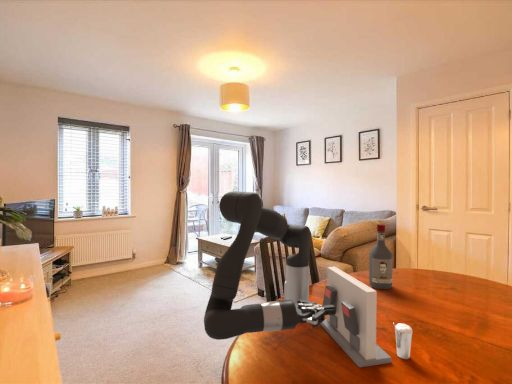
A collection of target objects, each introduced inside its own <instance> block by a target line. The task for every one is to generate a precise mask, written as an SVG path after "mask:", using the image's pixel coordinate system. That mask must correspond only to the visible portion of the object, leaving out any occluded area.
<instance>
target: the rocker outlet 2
mask: <svg viewBox="0 0 512 384" xmlns="http://www.w3.org/2000/svg"><path fill="white" fill-rule="evenodd" d="M341 305H342V312H343V318H344V324H345V328H346V329H347V330H348V331H349V332H350V333H352V334H353V335H354V336H355V335H358V334H359V331H358V324H357V318H356V312H355V307H353V306H352V305H351V304H349V303H348V302H347V301H343V302H341Z"/></svg>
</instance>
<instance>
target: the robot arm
mask: <svg viewBox="0 0 512 384" xmlns="http://www.w3.org/2000/svg"><path fill="white" fill-rule="evenodd" d="M219 211H220V214H221V216H222V217H223V218H224V220H226V221H227V222H230V223H235V224H240V225H239V230H238V232H237V234H236V237H235V238H234V240H233V242H232V243H231V244H230V246H229V247H228V248H227V250H226V251H225V252H224V253H223V255H222V256H221V257H220V259H219V261H218V263H217V265H216V269H215V272H214V273H215V274H214V277H213V281H212V286H211V291H210V296H209V299H208V302H207V305H206V308H205V312H204V317H203V325H204V331H205V333H206V335H207V336H208V337H210V339H212V340H218V341H219V340H220V341H221V340H228V339H232V338H235V337H238V336H241V335H244V334H248V333H249V334H251V333H252V334H253V333H260V332H277V331H286V330H294V329H296V328H297V325H299V324H311V327H312V328H317V327H318V326H319V325H320V323H322V322H323V321H324V320H325V319H326V317H325V316H327V315H334V314H336V307H335V306H334V305H325V306H322V304H318V303H317V301H316V302H315V301H310V256H311V255H310V254H311V237H312V236H311V235H312V234H311V228H310V227H309V226H307V225H302V224H288V221H287V219H286V218H285V216H284V215H283V214H281V213H279V212H278V211H276V210H274V209H273V208H272V209H271V208H267V207H265V206H263V203H262V198H261V196H260V195H259V194H258V193H257V192H253V191H252V192H251V191H239V190H238V191H237V190H233V191H228V192H227V193H224V194H223V195H222V197H221V199H220V201H219ZM256 232H257V233H259V234H261V235H262V236H265V237H267V238H270V239H272V240H277V241H279V242H280V243H281V244H283V245H284V246H286V247H289V248H296V249H298V251H297V253H294V254H290V255H288V256H287V257H286V260H285V261H286V262H285V265H286V269H285V274H286V275H285V278H286V280H285V281H284V283H283V288H284V289H283V291H284V292H283V300H274V301H266V302H261V303H252V304H246V305H242V306H241V307H240V308H233V302H234V299H236V297H237V294H238V290H239V285H240V280H241V275H242V273H243V272H242V271H243V267H244V264H245V259H246V257H247V255H248V252H249V249H250V247H251V244H252V241H253V239H254V236H255V234H256ZM232 308H233V309H232Z"/></svg>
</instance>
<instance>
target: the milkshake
mask: <svg viewBox="0 0 512 384" xmlns="http://www.w3.org/2000/svg"><path fill="white" fill-rule="evenodd" d="M393 325H394V332H395V343H396V355H397V357H399V358H400V359H403V360H409V359H410V357H411V347H412V339H413V338H412V337H413V328H412V327H411V326H410V325H408V324H406V323H401V322H399V323H397V324H395V323H393Z"/></svg>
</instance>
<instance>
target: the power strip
mask: <svg viewBox="0 0 512 384" xmlns="http://www.w3.org/2000/svg"><path fill="white" fill-rule="evenodd" d="M326 280H327V281H326V286H331V287H332V288H333V289H335V290H336V291H337V294H336V300H335V307H336V314H334V315H326V318H325V320H324V321H323V322H322V323H320V324H319V325H320V326H321V327H322V328H323V330H325V332H327V334H328V335H329V336H330V337H331V338H332V340H334V342H335V343H336V344H337V345H338V346H339V347H340V348H341V349H342V350H343V351H344V353H345V354H346V355H347V356H348V357H349V358H350V359H351V360H352V362H353V363H355V365H356V366H357V367H358V368H365V367H372V366H378V365H384V364H390V363H392V356H390V355H389V354H388V353H387V352H386V351H385V350H383V349H382V347H380V346H379V345H378V343H377V300H378V299H377V296H378V295H377V294H378V293H377V290H375V288H374V289H373V287H370V286H368V285H367V284H365V283H364V282H362V281H360V280H358V279H356V278H355V277H354V276H352V275H350V274H348V273H347V272H345V271H344V270H342V269H340V268H338V267H337V266H327V267H326ZM343 301H347V302H348V303H349V304H351V305H352V306H353V307H355V312H356V318H357V324H358V331H359V334H358V335H355V336H354V335H353V334H352V333H350V332H349V331H348V330H347V329H346V328H345V324H344V318H343V312H342V305H341V302H343Z"/></svg>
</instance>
